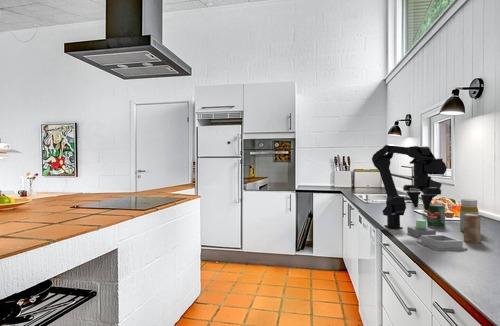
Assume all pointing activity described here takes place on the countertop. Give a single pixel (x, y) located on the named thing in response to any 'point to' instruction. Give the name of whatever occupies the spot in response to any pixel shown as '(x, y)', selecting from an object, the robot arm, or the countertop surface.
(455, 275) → the countertop surface
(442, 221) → the canned tomato
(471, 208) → the bottle
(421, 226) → the button
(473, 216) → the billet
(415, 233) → the switch box
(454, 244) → the grey square socket
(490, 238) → the countertop surface
